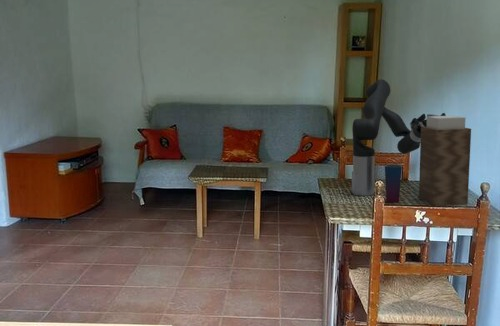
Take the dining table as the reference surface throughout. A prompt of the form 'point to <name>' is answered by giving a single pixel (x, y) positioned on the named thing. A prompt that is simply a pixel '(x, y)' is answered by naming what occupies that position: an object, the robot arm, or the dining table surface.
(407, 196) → the dining table surface
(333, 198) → the dining table surface
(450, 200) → the cabinet
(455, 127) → the caddy
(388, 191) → the cup
